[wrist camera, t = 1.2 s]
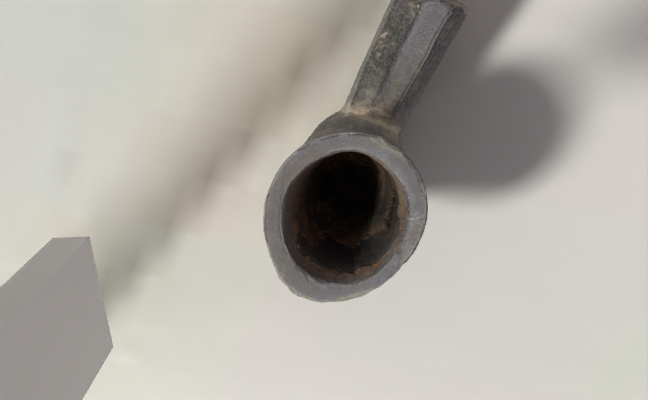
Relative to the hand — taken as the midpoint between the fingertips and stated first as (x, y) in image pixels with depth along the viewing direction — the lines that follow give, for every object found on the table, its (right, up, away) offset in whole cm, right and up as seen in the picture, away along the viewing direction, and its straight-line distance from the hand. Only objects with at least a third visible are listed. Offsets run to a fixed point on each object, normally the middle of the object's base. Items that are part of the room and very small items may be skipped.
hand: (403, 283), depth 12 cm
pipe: (0, +6, +16) cm, 17 cm away
